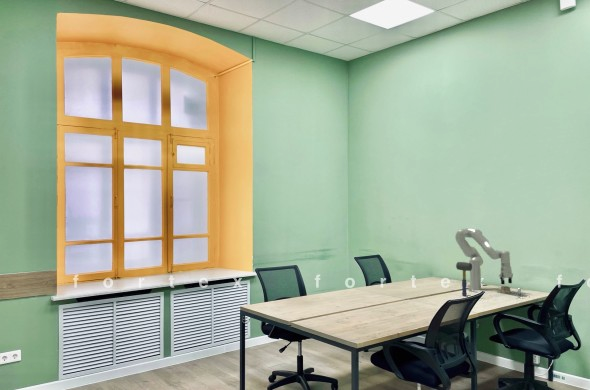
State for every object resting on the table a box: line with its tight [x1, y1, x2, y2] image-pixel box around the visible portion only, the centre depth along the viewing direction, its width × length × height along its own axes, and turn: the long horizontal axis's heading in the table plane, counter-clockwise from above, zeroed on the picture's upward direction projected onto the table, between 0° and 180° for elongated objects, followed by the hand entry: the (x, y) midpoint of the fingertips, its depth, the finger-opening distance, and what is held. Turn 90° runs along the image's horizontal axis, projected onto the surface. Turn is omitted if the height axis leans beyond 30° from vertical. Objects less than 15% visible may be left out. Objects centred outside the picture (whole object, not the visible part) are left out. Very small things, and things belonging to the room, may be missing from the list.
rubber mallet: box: [455, 261, 472, 297], centre depth 398 cm, size 12×8×30 cm, turn 41°
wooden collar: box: [500, 285, 511, 294], centre depth 405 cm, size 8×7×5 cm
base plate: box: [497, 291, 529, 298], centre depth 399 cm, size 24×12×2 cm, turn 27°
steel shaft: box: [517, 287, 522, 296], centre depth 393 cm, size 2×2×6 cm
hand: (506, 283), depth 405 cm, fingers open, 9 cm apart
